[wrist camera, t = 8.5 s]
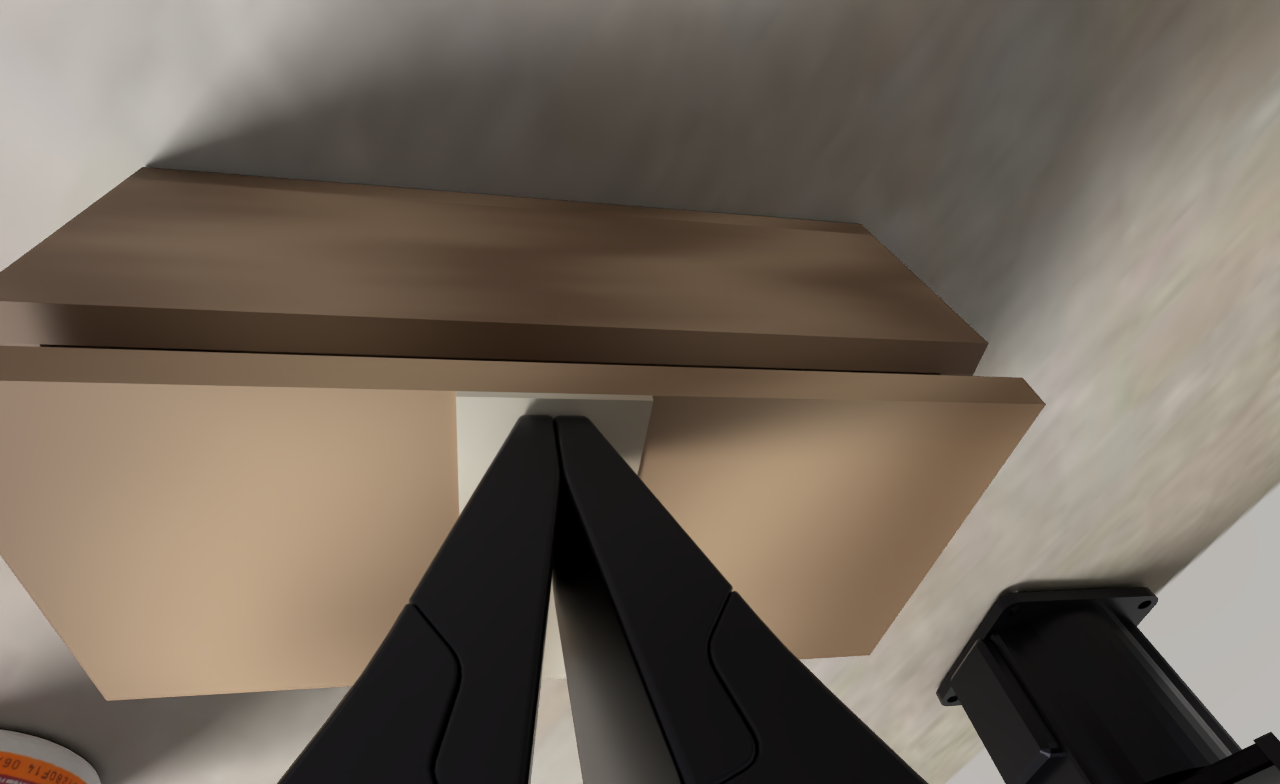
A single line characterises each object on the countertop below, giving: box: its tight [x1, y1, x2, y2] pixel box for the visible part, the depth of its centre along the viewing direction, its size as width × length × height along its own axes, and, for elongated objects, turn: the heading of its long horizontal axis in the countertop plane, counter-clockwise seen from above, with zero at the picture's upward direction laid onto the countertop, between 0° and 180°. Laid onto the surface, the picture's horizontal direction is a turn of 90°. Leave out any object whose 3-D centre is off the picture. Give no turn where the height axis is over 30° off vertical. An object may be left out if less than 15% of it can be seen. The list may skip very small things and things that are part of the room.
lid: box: [0, 346, 1046, 701], centre depth 11 cm, size 14×7×1 cm, turn 82°
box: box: [0, 167, 988, 376], centre depth 14 cm, size 14×7×5 cm, turn 82°
